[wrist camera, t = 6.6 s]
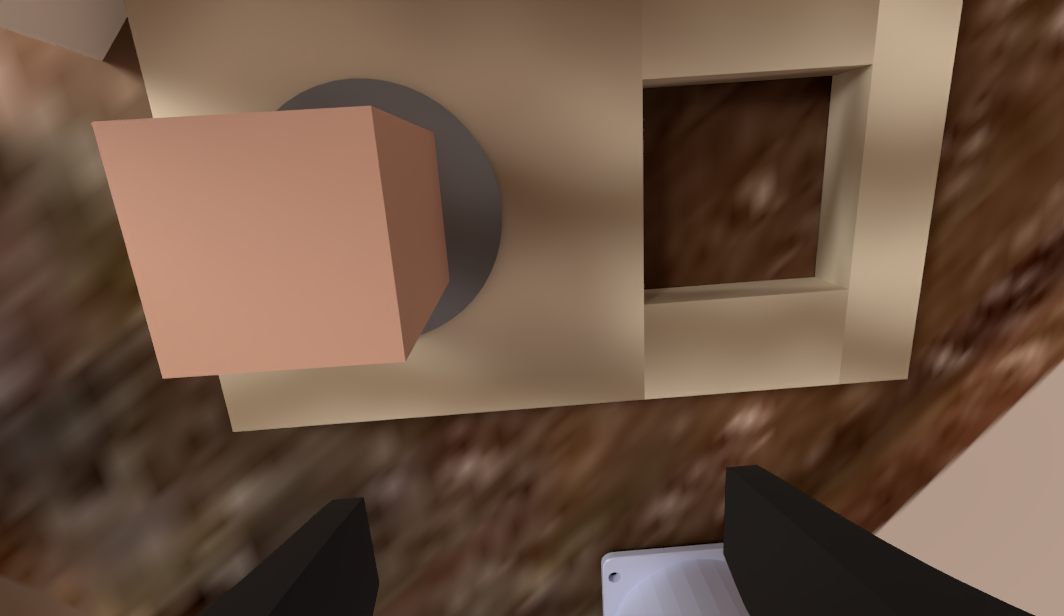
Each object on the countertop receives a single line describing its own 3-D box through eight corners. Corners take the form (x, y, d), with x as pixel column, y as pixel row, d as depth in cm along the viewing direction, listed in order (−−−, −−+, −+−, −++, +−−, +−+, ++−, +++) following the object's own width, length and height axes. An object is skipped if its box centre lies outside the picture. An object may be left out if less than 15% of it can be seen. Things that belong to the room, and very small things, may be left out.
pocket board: (869, 358, 20) (913, 382, 18) (260, 405, 20) (228, 436, 17) (919, -48, 16) (983, -82, 14) (165, -1, 16) (109, -28, 14)
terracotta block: (449, 280, 16) (405, 361, 9) (308, 289, 16) (162, 378, 9) (434, 132, 15) (370, 105, 8) (281, 141, 15) (91, 121, 8)
